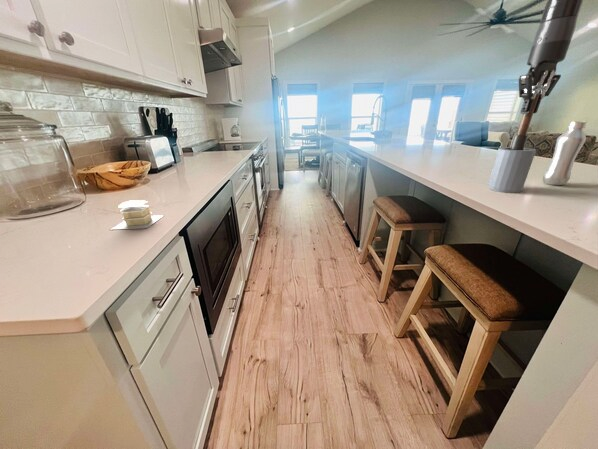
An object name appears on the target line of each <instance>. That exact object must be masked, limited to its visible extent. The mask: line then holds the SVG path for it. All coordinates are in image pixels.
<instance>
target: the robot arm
mask: <svg viewBox="0 0 598 449" xmlns="http://www.w3.org/2000/svg"><path fill="white" fill-rule="evenodd" d="M583 3H584V0H547V2H546V3H545V6H544V9H543V12H542V14H541V17H540V18H541V19H540V21H539V25H538V27H537V31H536V32H535V36H534V38H533V41H532V45H531V48H530V51H529V54H528V57H527V62H526V65H527V66H530V67H529V69H528V71H527V73H525V74H524V75H519V77H518V97H519V98H522V100H523V102H522V106H521V108H520V115H523V114H529V113H530V112H531V109H532V106H533V103H534V100H533V99H534V98H535V97H536V94H539V97H538V100H537V104H536V107H535V110H534V113H533V115H535V114H537V113H538V111H539V108H540V105H541V102H542V100H543V99H544V98H545V97H549V96H550V94H551V93H552V91H553V90H554V89H555V87H556V85H557V83H558V82H559V80H560V79H561V77H562V74H557V73H556V72H557V65H558V63H561V62H563V61H564V60H565V59H566V57H567V53H568V51H569V48H570V45H571V42H572V39H573V36H574V33H575V30H576V27H577V23H578V18H579V15H580V12H581V9H582V6H583Z"/></svg>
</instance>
